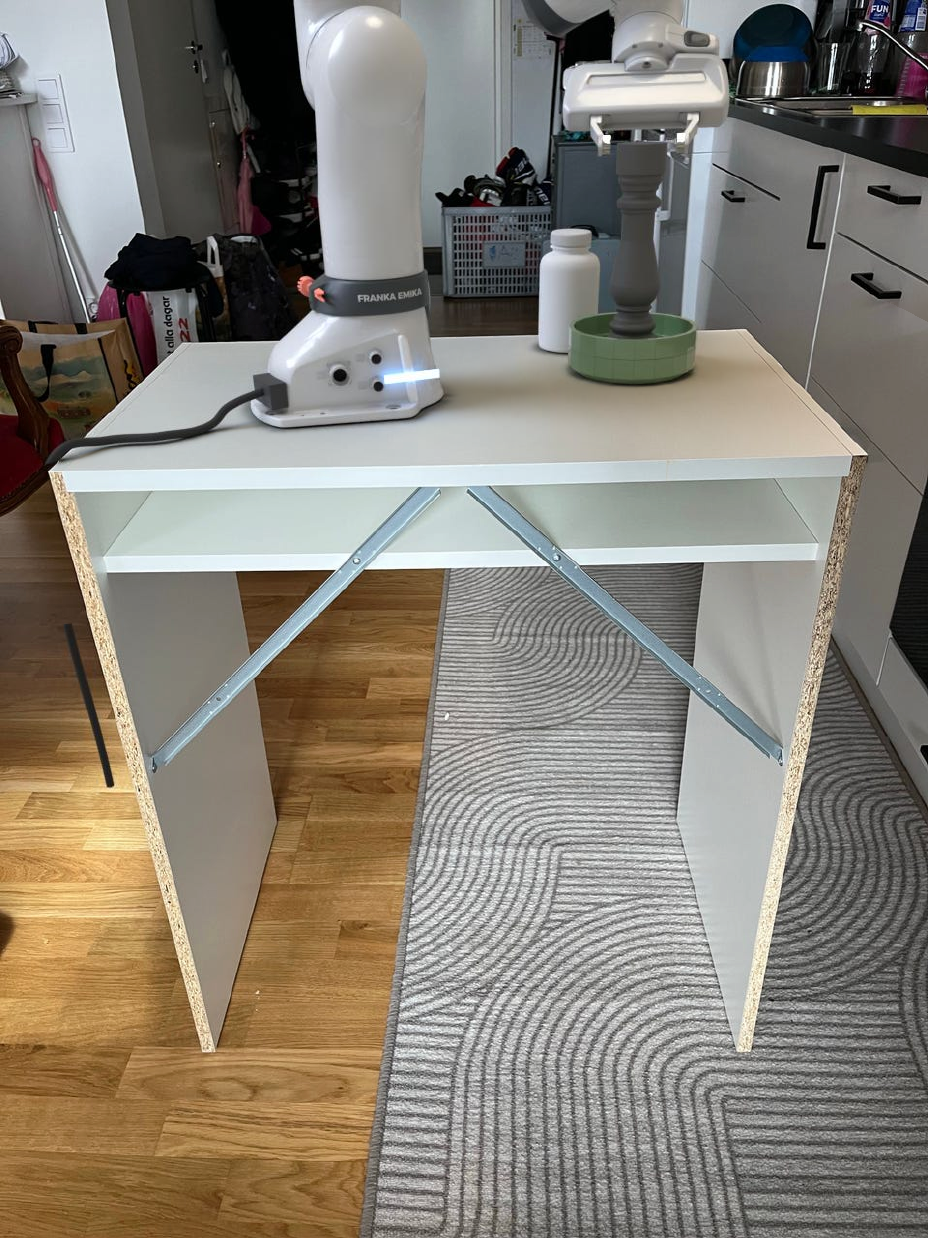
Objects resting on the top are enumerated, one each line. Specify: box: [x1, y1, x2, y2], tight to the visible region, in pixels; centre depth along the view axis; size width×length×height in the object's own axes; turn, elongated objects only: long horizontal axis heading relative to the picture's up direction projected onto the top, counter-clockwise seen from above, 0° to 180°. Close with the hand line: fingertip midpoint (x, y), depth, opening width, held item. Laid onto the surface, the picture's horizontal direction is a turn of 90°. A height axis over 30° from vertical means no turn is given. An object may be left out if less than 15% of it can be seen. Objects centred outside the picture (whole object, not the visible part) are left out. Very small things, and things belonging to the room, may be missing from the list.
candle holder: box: [607, 140, 669, 339], centre depth 117 cm, size 6×6×25 cm
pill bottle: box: [538, 228, 601, 354], centre depth 131 cm, size 8×8×15 cm
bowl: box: [567, 311, 699, 385], centre depth 122 cm, size 16×16×6 cm
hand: (642, 151), depth 119 cm, fingers open, 8 cm apart
